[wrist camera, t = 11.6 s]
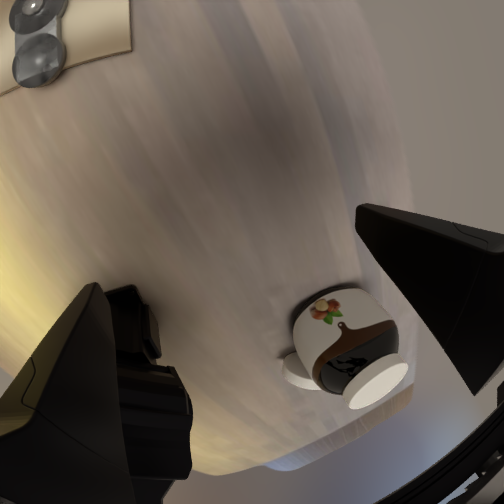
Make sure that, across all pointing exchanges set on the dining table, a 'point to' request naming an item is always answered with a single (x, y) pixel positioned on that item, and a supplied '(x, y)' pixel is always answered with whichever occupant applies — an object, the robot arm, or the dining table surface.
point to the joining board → (74, 34)
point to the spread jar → (345, 347)
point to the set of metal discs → (37, 41)
